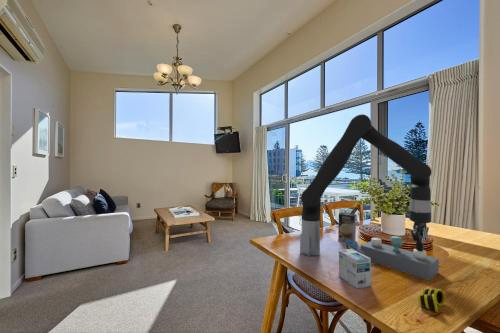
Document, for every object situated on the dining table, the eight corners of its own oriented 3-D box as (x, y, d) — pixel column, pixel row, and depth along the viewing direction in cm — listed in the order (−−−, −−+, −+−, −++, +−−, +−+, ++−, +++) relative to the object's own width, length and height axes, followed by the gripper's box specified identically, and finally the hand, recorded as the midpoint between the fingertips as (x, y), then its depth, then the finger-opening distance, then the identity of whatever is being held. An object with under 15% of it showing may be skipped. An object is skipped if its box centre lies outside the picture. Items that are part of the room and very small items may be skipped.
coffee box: (337, 240, 139) (337, 214, 139) (339, 237, 145) (340, 212, 144) (354, 243, 134) (354, 215, 134) (356, 240, 140) (356, 213, 140)
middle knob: (399, 256, 103) (399, 239, 103) (389, 253, 107) (389, 237, 107) (403, 254, 106) (404, 238, 106) (393, 251, 110) (393, 235, 109)
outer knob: (423, 271, 96) (423, 253, 96) (411, 267, 100) (411, 250, 100) (427, 268, 99) (427, 251, 99) (415, 265, 102) (415, 248, 102)
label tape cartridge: (365, 272, 99) (365, 243, 99) (357, 273, 98) (357, 243, 98) (352, 263, 107) (353, 236, 107) (345, 264, 107) (345, 237, 107)
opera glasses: (427, 299, 81) (424, 284, 81) (447, 303, 77) (443, 287, 77) (418, 310, 75) (415, 293, 75) (438, 315, 71) (435, 298, 71)
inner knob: (378, 257, 111) (378, 241, 111) (369, 254, 114) (369, 238, 114) (383, 254, 113) (383, 239, 113) (374, 252, 117) (374, 237, 117)
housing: (429, 280, 92) (429, 265, 92) (360, 257, 115) (360, 245, 115) (438, 272, 98) (438, 258, 98) (371, 252, 121) (371, 240, 121)
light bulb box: (371, 286, 87) (371, 257, 87) (356, 289, 85) (357, 259, 85) (351, 273, 98) (351, 248, 97) (337, 275, 96) (338, 249, 95)
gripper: (416, 207, 106) (415, 245, 106) (403, 210, 98) (403, 251, 98) (436, 209, 100) (436, 250, 100) (424, 213, 92) (424, 257, 92)
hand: (419, 250), depth 99 cm, fingers closed
